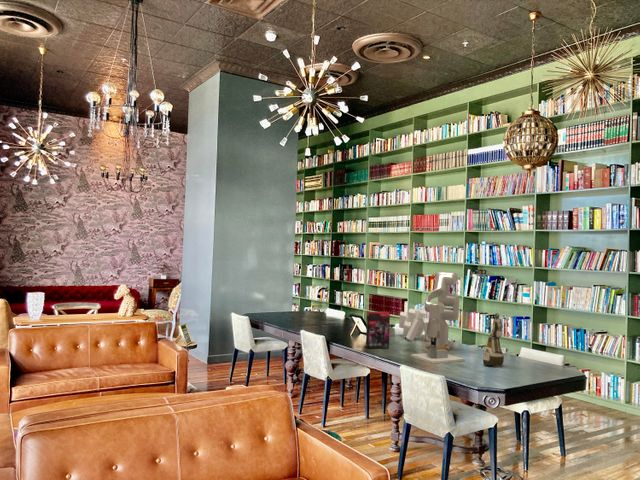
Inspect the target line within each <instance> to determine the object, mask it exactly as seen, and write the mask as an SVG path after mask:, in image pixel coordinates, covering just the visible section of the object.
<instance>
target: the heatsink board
mask: <svg viewBox="0 0 640 480" xmlns="http://www.w3.org/2000/svg"><path fill="white" fill-rule="evenodd" d="M427 346H428V347H431V349H426V352H425V353H411V354H410V357H411V358H413V359H418V360H421V361H422V362H426V363H430V364H432V365H434V364H446V363H458V362H459V363H460V362H461V363H462V362H465V361H466V360H465V358H462V357H459V356H456V355H453V354H449V350H448V349H436V346H434V345H431V344H427Z"/></svg>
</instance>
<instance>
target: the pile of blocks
mask: <svg viewBox="0 0 640 480" xmlns="http://www.w3.org/2000/svg"><path fill="white" fill-rule="evenodd" d="M427 313H428V312H427V311H425V309H419V308H415V309H414V308H409V310H408V312H404V311H400V313H399V321H398V327H399V328H400V329H403V332H402V335H404V336H405V338H406V339H408V340H409V341H412V342H413V341H414V340H415V338H417V337H418V338H421V335H422V334H423V332H424V336H425V340H426V342H429V341H430V338H429V337H428V336H427V334H426V333H427V325H428V322H429V318H427ZM430 342H431V341H430Z"/></svg>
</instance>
